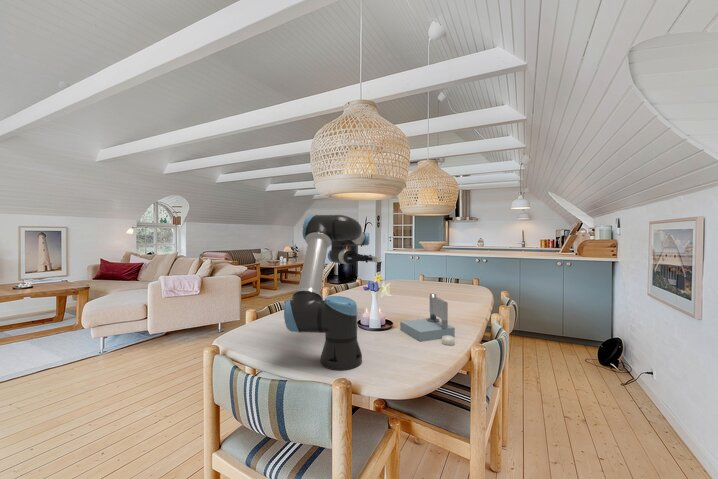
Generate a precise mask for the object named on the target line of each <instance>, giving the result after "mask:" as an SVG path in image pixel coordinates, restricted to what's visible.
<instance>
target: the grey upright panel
mask: <svg viewBox="0 0 718 479" xmlns="http://www.w3.org/2000/svg"><path fill="white" fill-rule="evenodd" d="M448 304H449V303H448V301H445V300H443V299H442V298H440V297H437V293H430V294H429V318H430V320H436V318H438V319H439V320H440V321H441V322H442V328H448V325H449V323H448V322H449V321H448V319H449V317H448V308H449V307H448Z"/></svg>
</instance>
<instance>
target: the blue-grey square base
mask: <svg viewBox="0 0 718 479" xmlns="http://www.w3.org/2000/svg"><path fill="white" fill-rule="evenodd" d="M399 323H400V325H399V330H400V331H402V332H404V334H407V335H408V336H410V337H412V338H414V339H415V340H417V341H419V342H425V341H433V340H439V339H442V336H445V335H450V336H453V337H454V338H455V330H456V329H455V326H452V325H450V324H448V328H442V321H441V320H440V318H438V317H436V320H430V317H427V318H420V319H419V318H418V319H411V320H402V321H400V322H399Z"/></svg>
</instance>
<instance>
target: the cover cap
mask: <svg viewBox="0 0 718 479" xmlns="http://www.w3.org/2000/svg"><path fill="white" fill-rule="evenodd" d="M441 342H442V343H441V344H442V345H444V346H454V345H455V336H454V337H453V336H450V335H445V336H442V338H441Z"/></svg>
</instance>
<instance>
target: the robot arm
mask: <svg viewBox="0 0 718 479" xmlns="http://www.w3.org/2000/svg"><path fill="white" fill-rule="evenodd" d="M302 237H303V240H304V241H305V243H306V244H307V246H306V250H305V255H304V260H303V264H302V265H303V266H302V270H301V275H300V279H299V284H298V287H297V288H298V289H297V290H296V291H294V292H293V294H292V297H291V298H292V299H291V298H290V299H287V300H286V301H285V303H284V306H283V318H284V324H285V326H286V330H288V331H290V332H295V333H300V334H301V333H312V334H313V333H314V334H315V333H317V334H323V333H324V334H325V341H324V344H323V348H322V350H321V354H320V364H321V365H322V367H324V368H326V369H329V370H335V371H337V370H338V371H343V370H344V371H345V370H350V369H354V368H357V367H358V366H360V365H362V363H363V354H362V351H361V348H360V344H359V342H358V307H357V303H356V301H355V300H354V299H352V298H350V297H346V296H341V295H328V296H326V297H325V299H324V298H323V296H322V295H321V289H322V283H323V276H324V270H325V264H326V257H327V259H328V260H329V261H330V262H331V263H335V264H344V265H355V264H356V262H365V263H367V264H368V262H371V263H380V256H378V255H377V256H376V255H375V256H374V255H372V254H360V253H357V251H355V250H349V249H348V250H347V249H345V246H363V247H365V246H369V244H370V233H369V232H366V231H364V232H363V230H362V225H361V224H360V223H359V222H358V220H356V219H354V218H353V217H350V216H348V215H343V214H314V215H313V214H312V215H308V216H306V217H305V219H304V221H303V224H302ZM329 247H330V250H329V251H328V249H329Z"/></svg>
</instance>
